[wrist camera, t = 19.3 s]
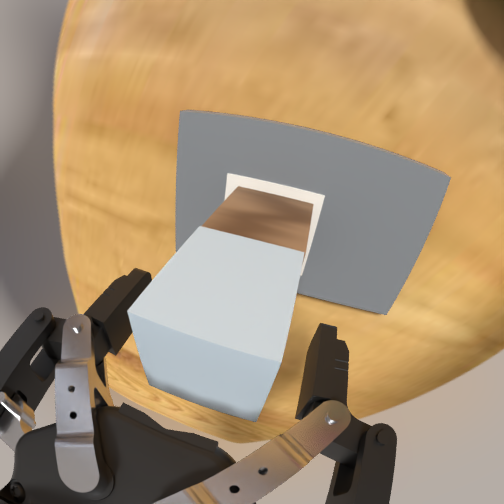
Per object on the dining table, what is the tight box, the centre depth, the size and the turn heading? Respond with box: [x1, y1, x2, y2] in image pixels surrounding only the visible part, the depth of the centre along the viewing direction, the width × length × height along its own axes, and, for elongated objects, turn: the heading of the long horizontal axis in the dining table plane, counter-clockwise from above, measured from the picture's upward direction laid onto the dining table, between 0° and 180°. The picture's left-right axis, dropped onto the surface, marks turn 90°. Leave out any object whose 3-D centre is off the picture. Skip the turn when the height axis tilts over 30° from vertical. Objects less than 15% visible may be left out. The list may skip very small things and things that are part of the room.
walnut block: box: [202, 186, 313, 264], centre depth 17 cm, size 5×5×6 cm
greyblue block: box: [127, 226, 304, 422], centre depth 12 cm, size 5×5×6 cm
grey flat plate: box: [176, 110, 451, 315], centre depth 19 cm, size 18×12×1 cm, turn 82°
